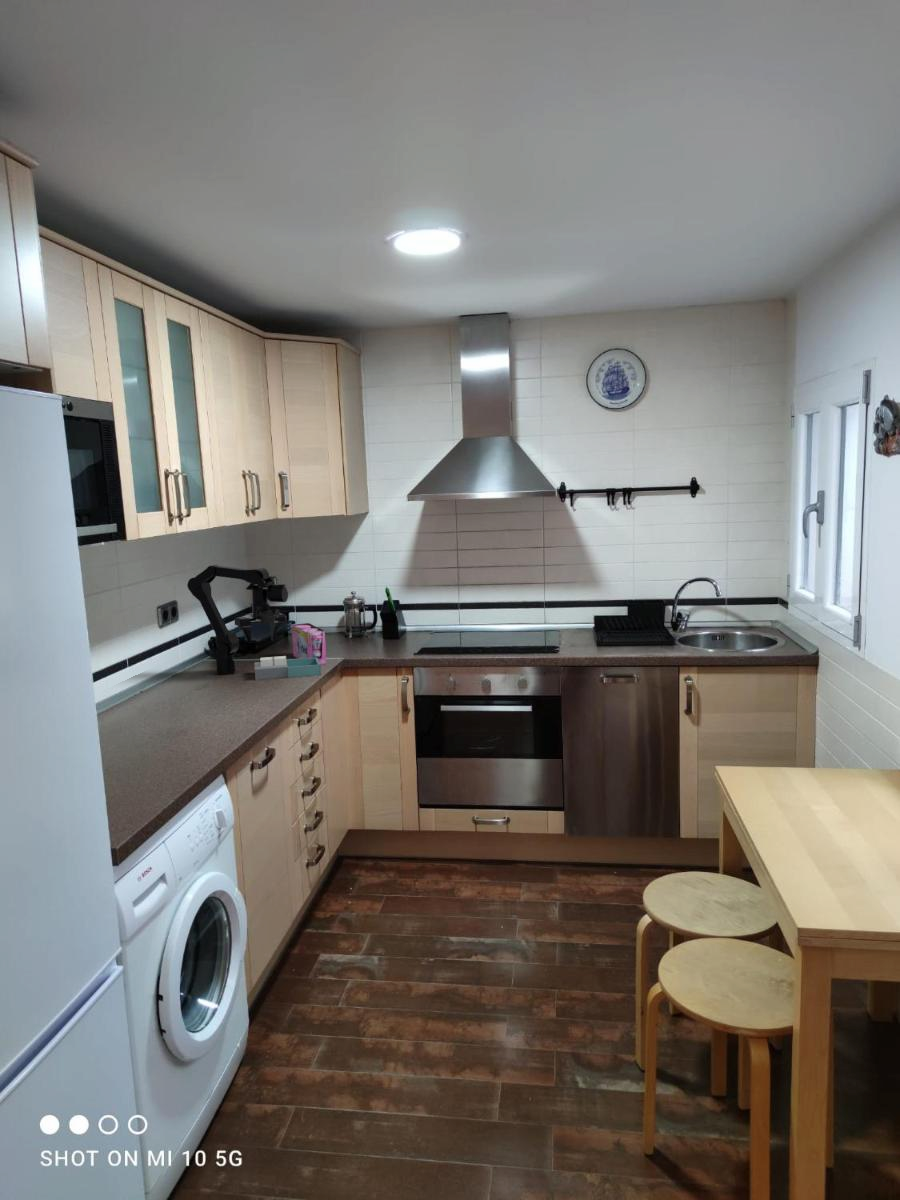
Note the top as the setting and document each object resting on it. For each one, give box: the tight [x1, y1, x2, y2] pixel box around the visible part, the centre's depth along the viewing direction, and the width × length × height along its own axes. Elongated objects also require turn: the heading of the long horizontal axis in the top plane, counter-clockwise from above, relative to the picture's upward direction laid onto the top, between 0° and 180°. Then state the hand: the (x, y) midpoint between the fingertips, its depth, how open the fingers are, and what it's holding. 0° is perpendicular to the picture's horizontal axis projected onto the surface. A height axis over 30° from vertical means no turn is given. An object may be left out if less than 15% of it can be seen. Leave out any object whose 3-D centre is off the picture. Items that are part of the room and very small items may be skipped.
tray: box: [286, 657, 322, 679], centre depth 300 cm, size 12×14×4 cm
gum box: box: [291, 622, 327, 665], centre depth 321 cm, size 24×8×14 cm, turn 27°
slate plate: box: [254, 660, 288, 681], centre depth 297 cm, size 12×12×4 cm
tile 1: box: [259, 656, 274, 667], centre depth 296 cm, size 4×4×2 cm
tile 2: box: [273, 655, 287, 666], centre depth 297 cm, size 4×4×2 cm
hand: (261, 641), depth 298 cm, fingers open, 9 cm apart
